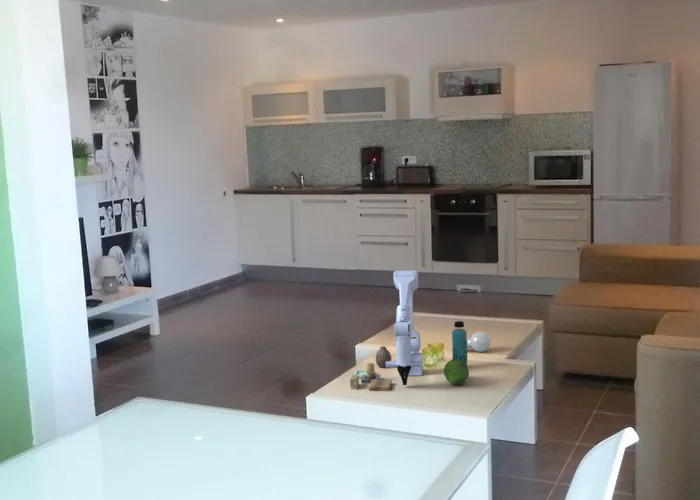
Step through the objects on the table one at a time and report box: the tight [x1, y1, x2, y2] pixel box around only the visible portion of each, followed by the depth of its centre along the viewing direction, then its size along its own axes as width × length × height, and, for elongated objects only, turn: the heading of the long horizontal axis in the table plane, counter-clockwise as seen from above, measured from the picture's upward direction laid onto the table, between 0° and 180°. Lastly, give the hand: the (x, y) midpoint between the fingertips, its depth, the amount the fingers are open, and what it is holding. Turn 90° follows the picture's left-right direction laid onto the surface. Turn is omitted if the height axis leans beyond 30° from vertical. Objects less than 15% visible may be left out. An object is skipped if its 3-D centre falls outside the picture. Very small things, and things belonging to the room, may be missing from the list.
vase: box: [375, 346, 392, 369], centre depth 353 cm, size 7×7×9 cm
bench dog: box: [349, 374, 360, 390], centre depth 325 cm, size 2×6×4 cm, turn 171°
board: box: [368, 379, 393, 392], centre depth 324 cm, size 8×10×2 cm
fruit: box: [443, 358, 470, 385], centre depth 325 cm, size 15×10×10 cm, turn 173°
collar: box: [360, 374, 381, 384], centre depth 333 cm, size 7×7×2 cm
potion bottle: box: [467, 330, 492, 353], centre depth 371 cm, size 9×10×15 cm
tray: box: [353, 369, 376, 380], centre depth 340 cm, size 8×8×2 cm
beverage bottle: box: [451, 320, 468, 366], centre depth 346 cm, size 6×7×20 cm
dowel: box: [365, 362, 376, 379], centre depth 333 cm, size 3×3×7 cm
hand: (404, 384), depth 322 cm, fingers closed
